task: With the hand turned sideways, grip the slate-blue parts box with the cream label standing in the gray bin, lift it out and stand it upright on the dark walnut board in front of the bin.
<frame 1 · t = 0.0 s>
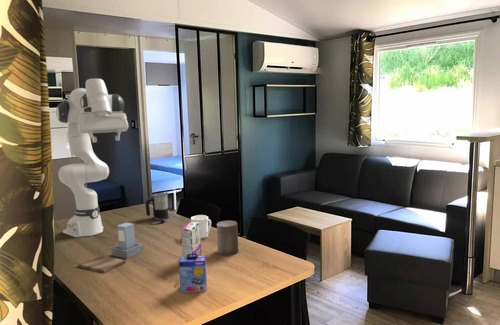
hand: (106, 141, 172), 54 cm above the table, tool tilted 30°, fingers open, 8 cm apart
candy bar box: (192, 261, 180), on the table
milk frother: (160, 220, 248), on the table
ink cartridge box: (193, 289, 153), on the table
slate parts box: (126, 239, 191), in the gray bin
gray bin: (127, 253, 192), on the table
pillar candle: (228, 252, 191), on the table
walnut board: (102, 264, 179), on the table
mug: (202, 237, 214), on the table
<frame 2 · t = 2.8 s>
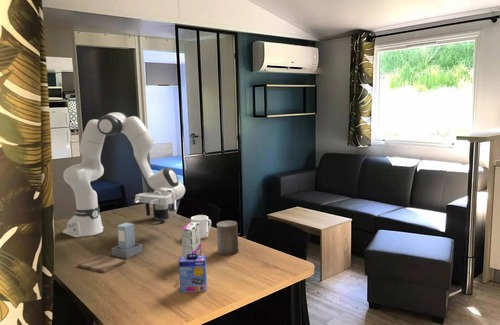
hand: (142, 202, 199), 22 cm above the table, tool horizontal, fingers open, 8 cm apart
nothing on the table moved.
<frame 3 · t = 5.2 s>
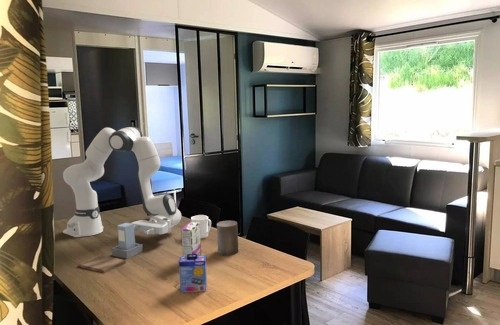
hand: (138, 231, 198), 8 cm above the table, tool horizontal, fingers open, 8 cm apart
nothing on the table moved.
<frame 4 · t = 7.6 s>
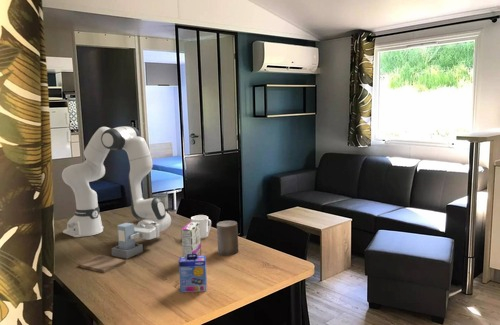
hand: (124, 236, 190), 9 cm above the table, tool horizontal, fingers closed on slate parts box, 5 cm apart
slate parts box: (126, 239, 191), in the gray bin, touching gripper
everything else where it was.
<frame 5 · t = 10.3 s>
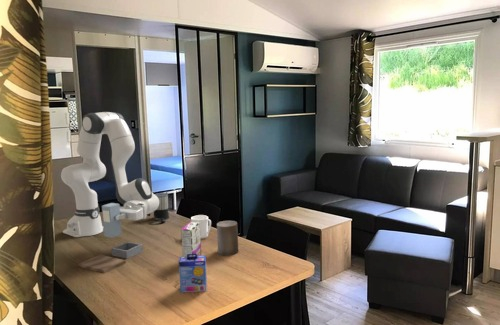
hand: (109, 217, 181), 20 cm above the table, tool horizontal, fingers closed on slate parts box, 5 cm apart
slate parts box: (111, 220, 182), point 18 cm above the table, touching gripper
everything else where it was.
when the fingers open (11 cm above the table, at t = 13.3 s): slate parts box drops 1 cm, resting on walnut board.
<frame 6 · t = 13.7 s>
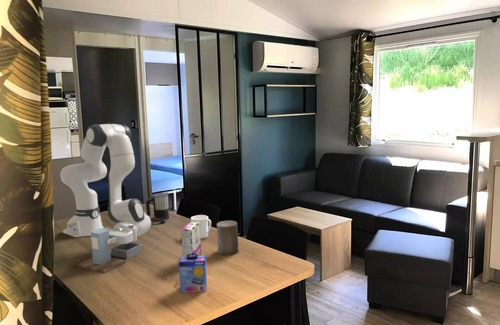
hand: (98, 240, 177), 11 cm above the table, tool horizontal, fingers open, 8 cm apart
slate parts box: (100, 246, 178), on the walnut board, point 8 cm above the table
everything else where it was.
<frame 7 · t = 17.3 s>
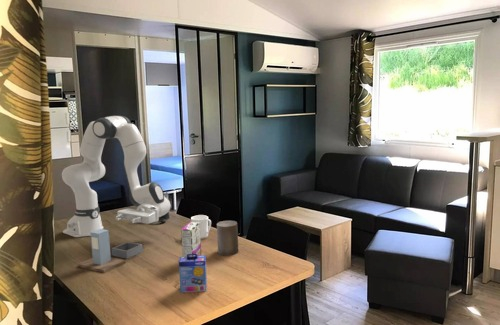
hand: (124, 220, 190), 16 cm above the table, tool horizontal, fingers open, 8 cm apart
nothing on the table moved.
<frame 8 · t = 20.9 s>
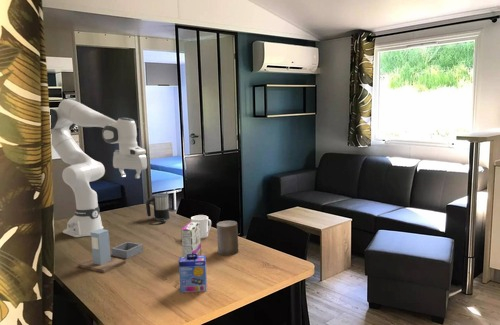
hand: (130, 177, 205), 33 cm above the table, tool pointing down, fingers open, 8 cm apart
at the end: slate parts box inside the target area on the walnut board (0.1 cm from its centre), point 8.2 cm above the walnut board's base; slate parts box tilted 0°; the gripper is holding nothing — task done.
